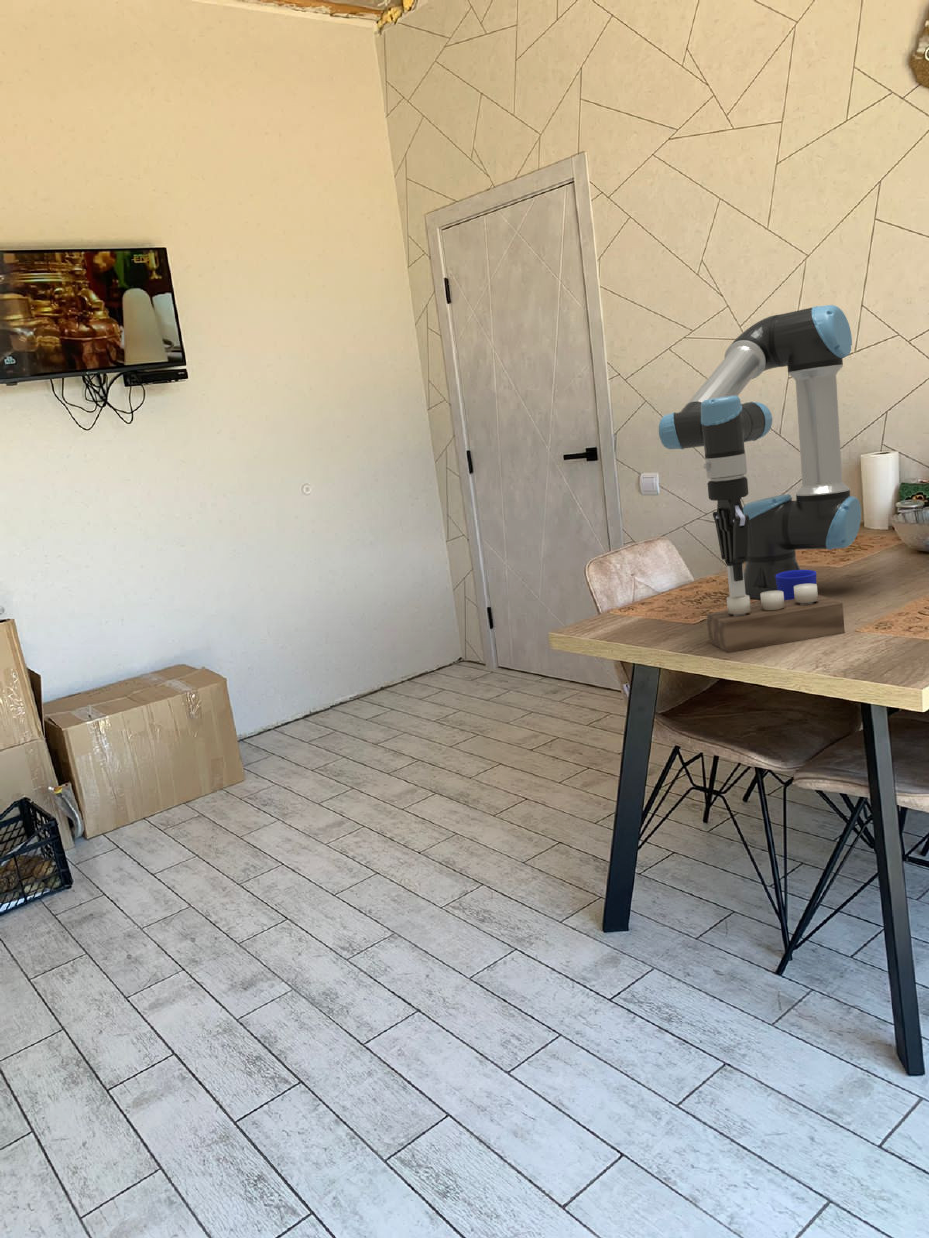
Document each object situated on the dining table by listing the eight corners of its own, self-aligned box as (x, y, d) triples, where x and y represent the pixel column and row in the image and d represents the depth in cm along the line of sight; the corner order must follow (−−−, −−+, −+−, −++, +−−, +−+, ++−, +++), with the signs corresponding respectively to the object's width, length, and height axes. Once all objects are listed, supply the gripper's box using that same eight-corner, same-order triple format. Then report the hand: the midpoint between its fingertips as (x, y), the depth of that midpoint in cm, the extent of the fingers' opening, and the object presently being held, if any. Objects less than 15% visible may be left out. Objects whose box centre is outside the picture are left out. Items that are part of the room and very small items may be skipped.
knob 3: (793, 627, 191) (789, 586, 189) (813, 623, 191) (810, 582, 190) (802, 631, 187) (799, 589, 185) (824, 627, 187) (820, 585, 185)
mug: (819, 609, 206) (815, 564, 204) (820, 622, 195) (816, 575, 193) (779, 612, 209) (776, 568, 207) (778, 625, 198) (774, 579, 196)
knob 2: (760, 634, 191) (756, 593, 189) (781, 630, 191) (777, 589, 189) (769, 638, 186) (765, 596, 185) (790, 634, 187) (787, 592, 185)
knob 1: (727, 638, 190) (723, 597, 188) (748, 634, 190) (744, 593, 189) (735, 642, 186) (731, 600, 184) (756, 639, 186) (752, 597, 184)
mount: (709, 641, 193) (706, 613, 192) (820, 622, 194) (818, 594, 193) (727, 652, 183) (724, 623, 182) (844, 632, 185) (842, 603, 183)
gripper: (696, 479, 188) (708, 594, 192) (720, 482, 175) (731, 604, 180) (732, 474, 188) (743, 588, 193) (759, 476, 175) (769, 598, 180)
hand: (737, 596), depth 186 cm, fingers closed
